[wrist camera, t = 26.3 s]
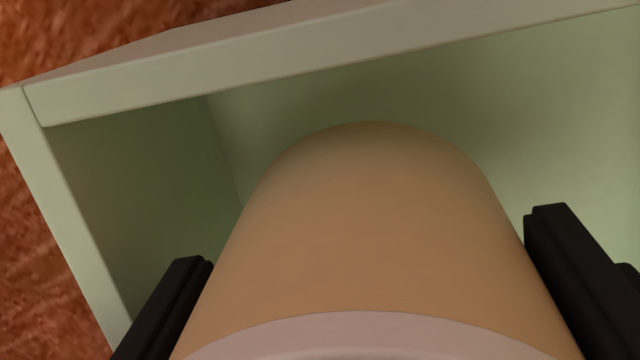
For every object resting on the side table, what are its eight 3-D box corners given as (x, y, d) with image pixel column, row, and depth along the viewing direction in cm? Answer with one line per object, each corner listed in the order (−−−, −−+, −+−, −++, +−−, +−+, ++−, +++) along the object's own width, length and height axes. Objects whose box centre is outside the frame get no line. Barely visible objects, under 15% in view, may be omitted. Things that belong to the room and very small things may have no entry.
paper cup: (497, 89, 10) (715, 312, 4) (515, 329, 13) (661, 700, 6) (206, 143, 11) (-4, 385, 5) (277, 354, 14) (201, 689, 7)
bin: (674, -90, 14) (1112, -163, 6) (647, 333, 20) (839, 587, 12) (169, 29, 16) (-21, 95, 8) (283, 368, 22) (237, 595, 14)
